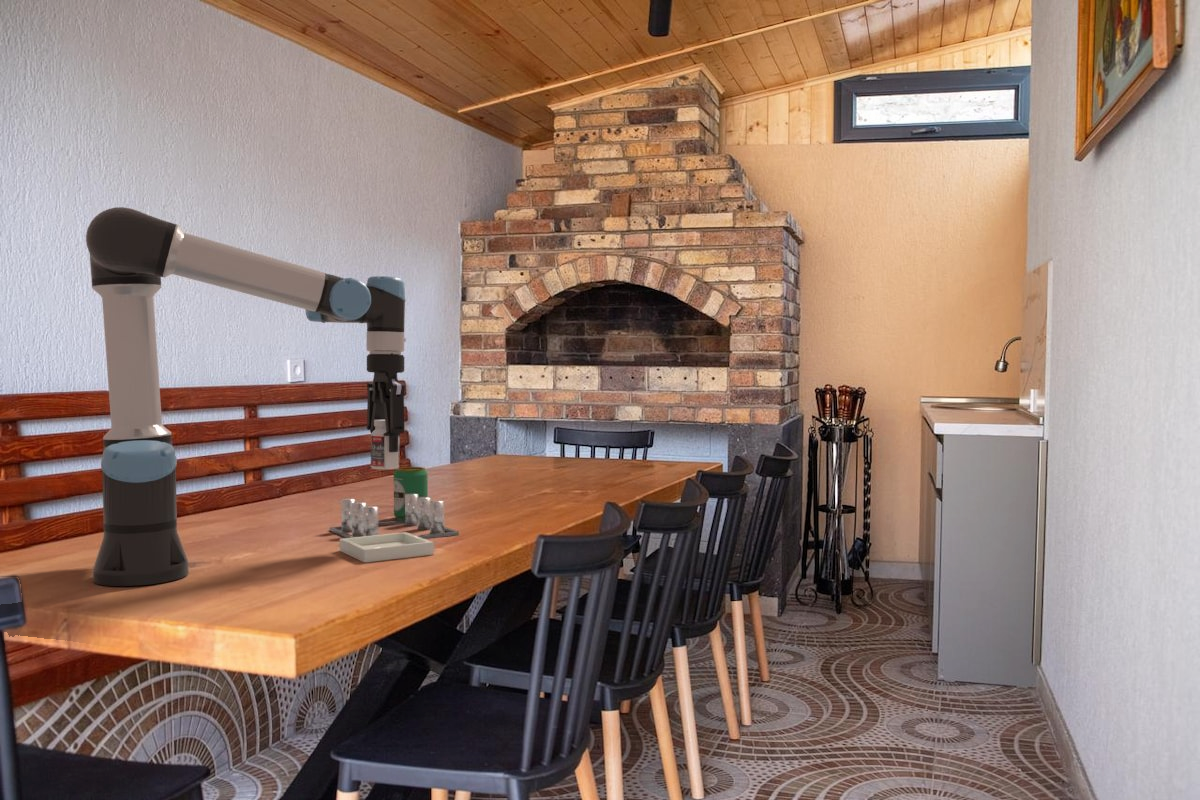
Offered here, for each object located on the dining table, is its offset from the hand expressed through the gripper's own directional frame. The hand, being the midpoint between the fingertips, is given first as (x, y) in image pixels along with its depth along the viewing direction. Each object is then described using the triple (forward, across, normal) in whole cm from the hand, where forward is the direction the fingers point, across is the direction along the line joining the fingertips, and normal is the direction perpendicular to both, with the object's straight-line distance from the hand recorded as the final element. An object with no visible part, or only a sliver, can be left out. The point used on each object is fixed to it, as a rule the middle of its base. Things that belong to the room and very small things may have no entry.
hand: (384, 466), depth 206 cm
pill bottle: (+1, 0, 0) cm, 1 cm away
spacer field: (+16, +14, -8) cm, 23 cm away
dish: (+16, -8, +3) cm, 18 cm away
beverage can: (+16, +29, -20) cm, 39 cm away
